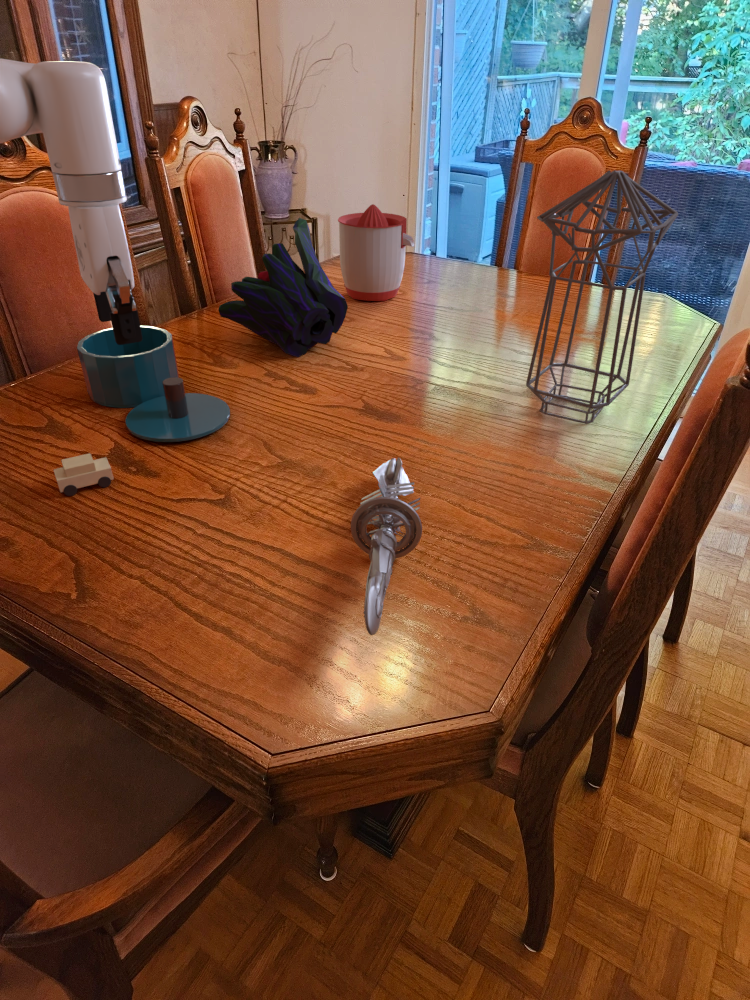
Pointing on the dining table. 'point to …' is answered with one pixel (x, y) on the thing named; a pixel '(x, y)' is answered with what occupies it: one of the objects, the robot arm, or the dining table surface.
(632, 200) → the geometric lantern
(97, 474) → the toy car
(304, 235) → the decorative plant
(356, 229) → the citrus juicer
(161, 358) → the pot
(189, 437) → the pot lid
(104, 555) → the dining table surface
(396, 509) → the spaceship
